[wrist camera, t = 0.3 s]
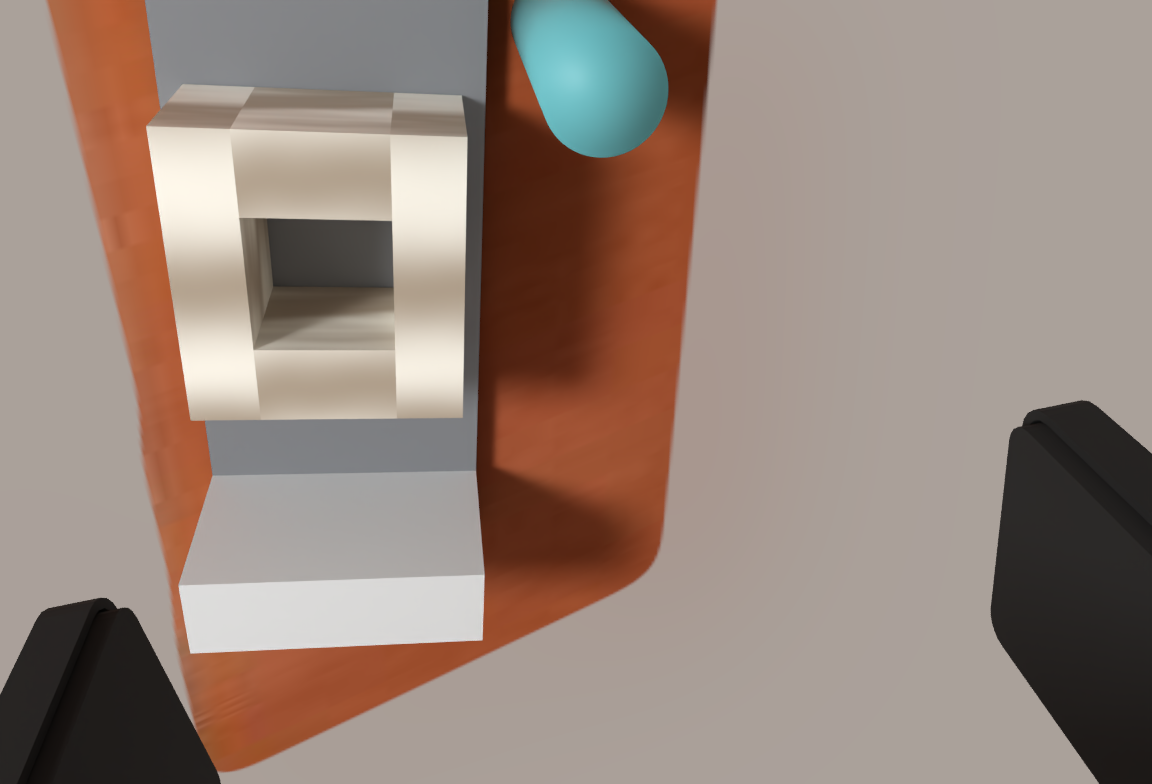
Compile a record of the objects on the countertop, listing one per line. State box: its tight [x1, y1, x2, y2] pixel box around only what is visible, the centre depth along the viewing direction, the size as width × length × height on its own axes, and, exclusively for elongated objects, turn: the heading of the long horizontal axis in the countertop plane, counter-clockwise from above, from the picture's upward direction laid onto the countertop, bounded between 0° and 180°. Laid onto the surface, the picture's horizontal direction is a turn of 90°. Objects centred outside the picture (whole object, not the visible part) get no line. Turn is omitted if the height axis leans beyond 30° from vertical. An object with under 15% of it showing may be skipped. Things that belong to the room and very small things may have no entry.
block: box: [146, 84, 467, 421], centre depth 40 cm, size 12×11×6 cm
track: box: [145, 0, 488, 653], centre depth 41 cm, size 29×13×9 cm, turn 176°
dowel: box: [511, 0, 668, 158], centre depth 35 cm, size 4×4×12 cm
